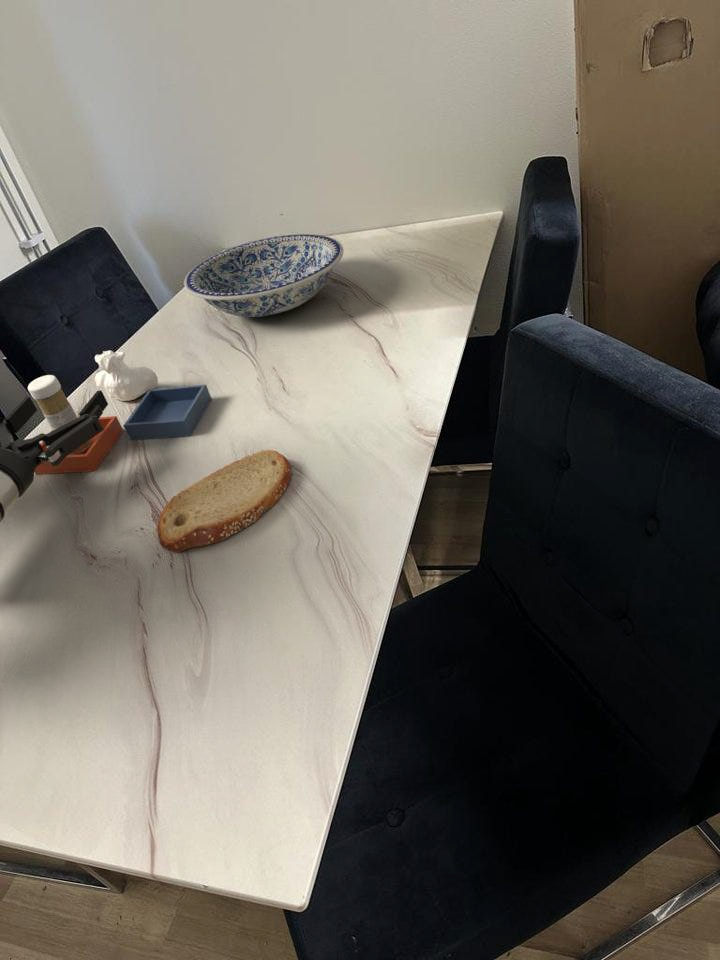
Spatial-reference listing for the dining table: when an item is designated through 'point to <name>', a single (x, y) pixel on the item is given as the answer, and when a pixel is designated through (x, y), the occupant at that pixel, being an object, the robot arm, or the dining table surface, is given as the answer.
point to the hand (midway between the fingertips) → (66, 400)
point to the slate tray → (168, 412)
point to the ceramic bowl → (265, 274)
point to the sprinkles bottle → (54, 405)
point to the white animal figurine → (123, 377)
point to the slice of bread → (224, 501)
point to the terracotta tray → (92, 455)
